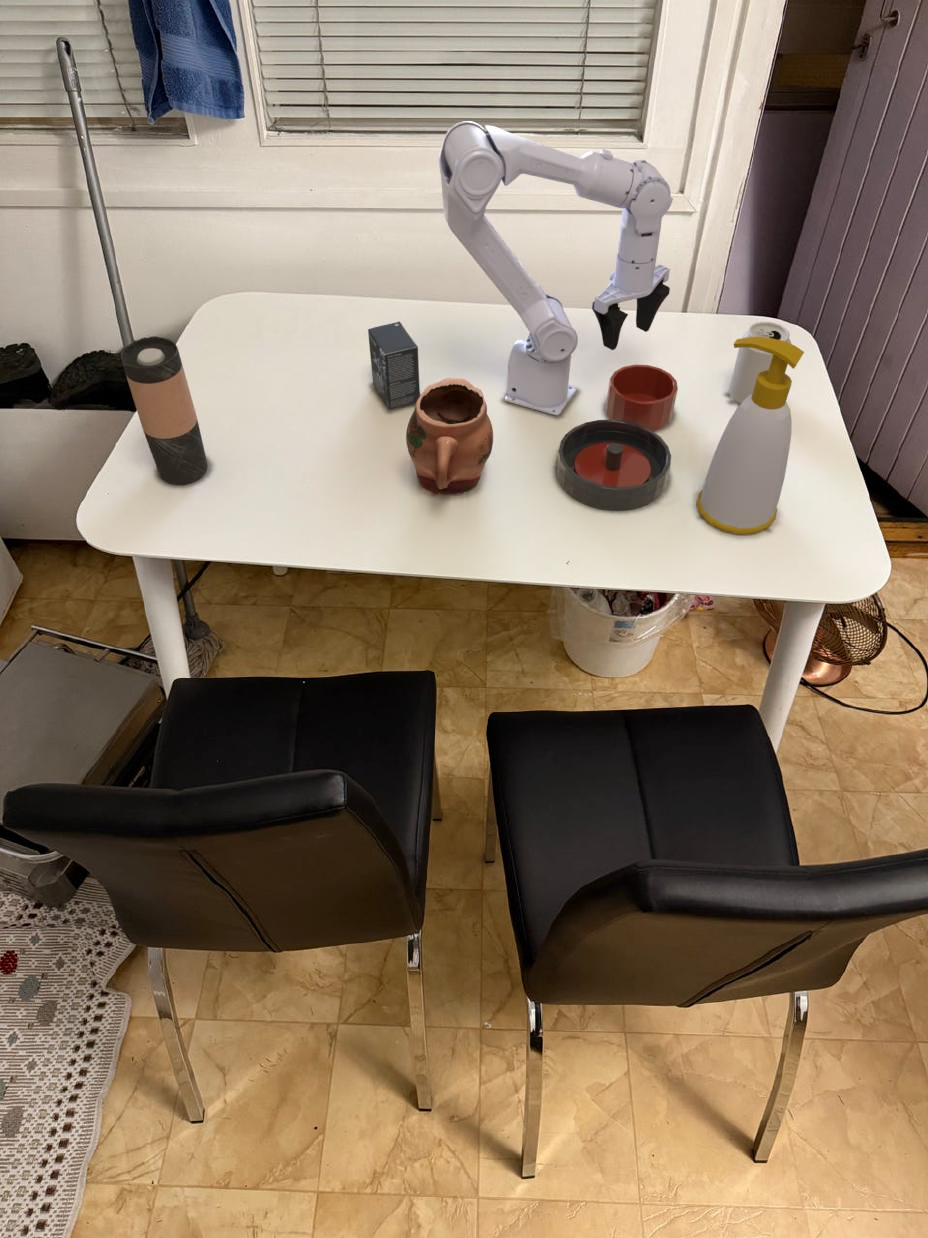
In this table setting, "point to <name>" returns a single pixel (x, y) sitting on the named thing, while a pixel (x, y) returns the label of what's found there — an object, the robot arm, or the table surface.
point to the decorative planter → (449, 437)
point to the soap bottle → (753, 449)
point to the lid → (612, 465)
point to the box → (394, 365)
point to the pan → (610, 495)
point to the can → (754, 359)
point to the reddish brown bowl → (642, 396)
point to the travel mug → (165, 409)
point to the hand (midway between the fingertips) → (626, 337)
